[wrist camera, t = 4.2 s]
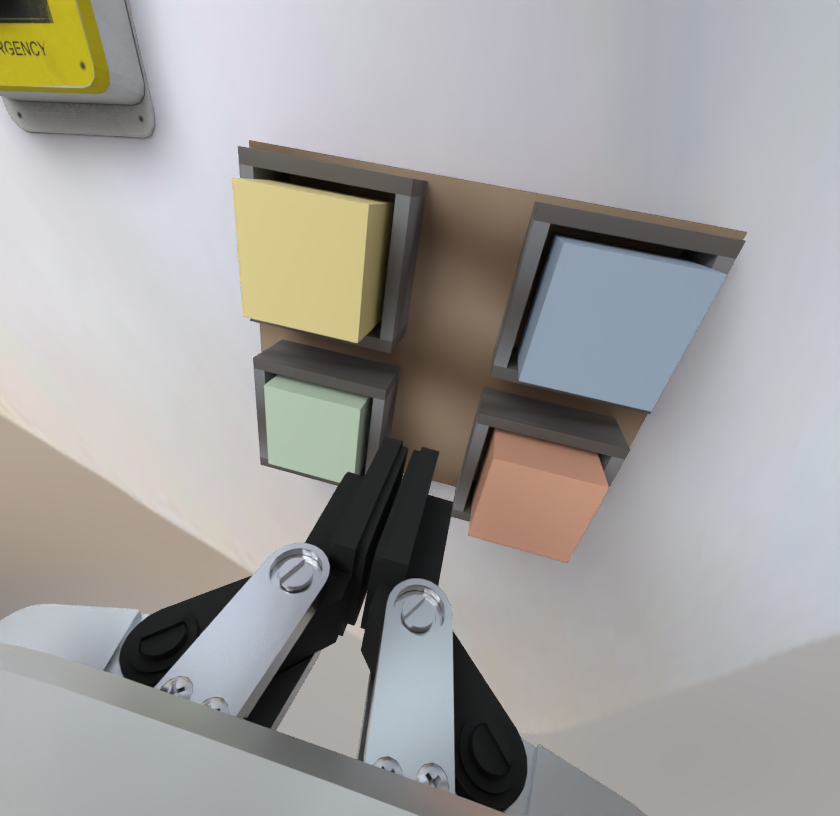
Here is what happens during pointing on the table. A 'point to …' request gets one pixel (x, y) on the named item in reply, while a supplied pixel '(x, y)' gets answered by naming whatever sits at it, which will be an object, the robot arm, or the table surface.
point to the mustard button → (311, 257)
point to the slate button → (612, 320)
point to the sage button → (316, 428)
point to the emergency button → (73, 68)
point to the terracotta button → (536, 494)
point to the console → (462, 313)
